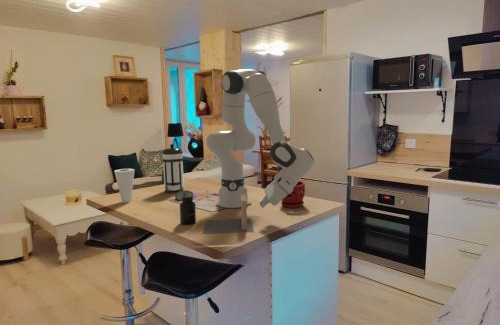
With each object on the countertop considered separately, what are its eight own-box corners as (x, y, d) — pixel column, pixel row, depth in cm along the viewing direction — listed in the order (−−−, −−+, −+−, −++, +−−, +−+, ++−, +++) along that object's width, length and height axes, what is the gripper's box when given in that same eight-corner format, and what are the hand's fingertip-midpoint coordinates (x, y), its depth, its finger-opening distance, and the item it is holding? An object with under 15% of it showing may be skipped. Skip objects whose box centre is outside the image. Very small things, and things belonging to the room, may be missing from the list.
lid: (194, 196, 200) (194, 188, 200) (192, 200, 190) (192, 192, 190) (176, 197, 200) (176, 188, 199) (173, 201, 190) (173, 192, 189)
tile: (241, 220, 150) (240, 194, 148) (245, 220, 150) (245, 193, 148) (242, 229, 138) (241, 200, 136) (247, 229, 138) (246, 200, 136)
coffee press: (156, 192, 215) (153, 144, 211) (176, 187, 227) (174, 142, 223) (173, 195, 204) (170, 145, 200) (193, 190, 216) (191, 143, 212)
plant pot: (281, 202, 183) (281, 180, 181) (306, 203, 179) (306, 180, 178) (276, 208, 170) (276, 185, 169) (303, 209, 167) (303, 185, 165)
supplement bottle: (193, 225, 147) (191, 198, 145) (178, 224, 148) (176, 198, 146) (198, 220, 154) (197, 194, 152) (183, 220, 155) (182, 194, 153)
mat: (206, 221, 152) (206, 220, 152) (251, 219, 153) (251, 218, 153) (203, 235, 134) (203, 233, 134) (253, 233, 135) (253, 231, 135)
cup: (113, 204, 187) (110, 171, 184) (122, 199, 197) (120, 168, 195) (131, 204, 186) (129, 171, 183) (139, 199, 196) (137, 168, 194)
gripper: (275, 173, 152) (253, 195, 153) (281, 181, 132) (257, 207, 133) (285, 182, 153) (264, 204, 154) (293, 192, 133) (268, 217, 133)
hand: (260, 205), depth 143 cm, fingers closed
